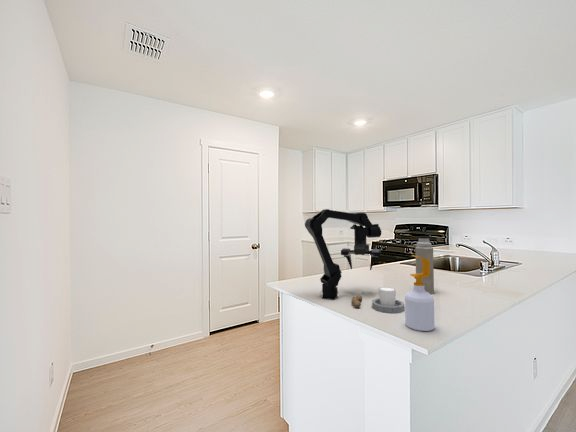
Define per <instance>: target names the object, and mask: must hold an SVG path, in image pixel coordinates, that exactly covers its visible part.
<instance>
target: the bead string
mask: <svg viewBox="0 0 576 432" xmlns="http://www.w3.org/2000/svg"><path fill="white" fill-rule="evenodd" d="M362 301H363V296H362V295H361V294H357V295H355V296H353V297H352V299H351V305H353V306H354V308H356V309H357V308H360V307H361V305H362V304H361V302H362Z"/></svg>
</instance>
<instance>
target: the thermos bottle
mask: <svg viewBox="0 0 576 432" xmlns="http://www.w3.org/2000/svg"><path fill="white" fill-rule="evenodd" d="M432 246H433V245H432V243H431V241H430V236H427V235H420V236H418V242H416V246H415V250H414V251H415V256H418V257H422V258H425V259H428V260H429V261H430V276H429V277H423V279H422V283H424V290H425V291H426V292H428V293H429V294H431V295H433V294H434V293H435V279H434V278H435V276H434V273H435V271H434V247H432ZM420 273H422V260H421V259H420V258H417V257H415V274H420Z"/></svg>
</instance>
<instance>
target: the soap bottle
mask: <svg viewBox="0 0 576 432" xmlns="http://www.w3.org/2000/svg"><path fill="white" fill-rule="evenodd" d="M411 257H414V258H416V257H417V258H420V259H421V260H422V273H420V274H416V273H410V276H411V277H413V278H414V279H415V281H414V282H413V289H411V290H409V291H408V292H407V293H406V294H405V295H404V312H405V313H404V315H405V325H406V326H407V327H408V328H410V329H412V330H415V331H420V332H430V331H434V330H435V327H436V326H435V299H434V296H433V294H429V293H428V292H426V291H425V290H424V283H422V279H423V277H429V276H430V261H429V260H428V259H425V258H422V257H418V256H416V254H415V255H414V254H411Z"/></svg>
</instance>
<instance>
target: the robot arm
mask: <svg viewBox="0 0 576 432" xmlns="http://www.w3.org/2000/svg"><path fill="white" fill-rule="evenodd" d="M368 216H369V215H367V213H366V212H346V211H345V212H344V211H338V210H333V209H330V208H325V209H322V210H321V211H320V212H318V213H316V214H315V215H313V216H312V217H310V218H307V219H306V220H305V223H304V227H305V229H306V230H307V232H308V233H309V234H310V236H311V237H312V239H313V242H314V244H315V246H316V248H317V251H318V253H319V256H320V258H321V261H322V263H323V273H324V274H323V275H322V276H321V277H320V279H319V281H320V282H321V286H322V287H321V289H322V290H321V292H322V293H321V295H322V296H321V299H324V300H325V299H327V300H336V299H337V298H338V296H339V295H338V294H339V292H338V286H339V282H340V280H341V278H342V272H343V271H342V270H341V267H340V265H339V264H337V263H335V262H334V261H333V259H332V256H331V253H330V251H329V247H328V246H327V244H326V241H325V238H324V236H323V227H322V226H323V224H324V223H325V222H326V221H327V220H328V219H334V220H335V219H336V220H339V221H341V220H342V221H346V222H349V223H351V224H352V226H350V228H349V229H350V230H353V231H354V235H353V236H354V245H353V249H351V248H345V247H344V248H342V249H341V250H340V255H341V256H343V257H344V258H345V259H346V260H347V262H348V265H349V268H350V270H352V269H353V261H352V255H355V256H359V255H361V256H364V255H371V257H370V265H369V270H370V271H372V269H373V265H374V262H375V259H377V258H379V257H381V256H382V255H381V254H382V253H381V251H382V250H381V249H380V248H372V249H371V250H370V244H367V238H369V239H370V238H380V237H381V235H382V229H381V227H380V225H379V223H372V222H371V220H370V219H369V217H368Z"/></svg>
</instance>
